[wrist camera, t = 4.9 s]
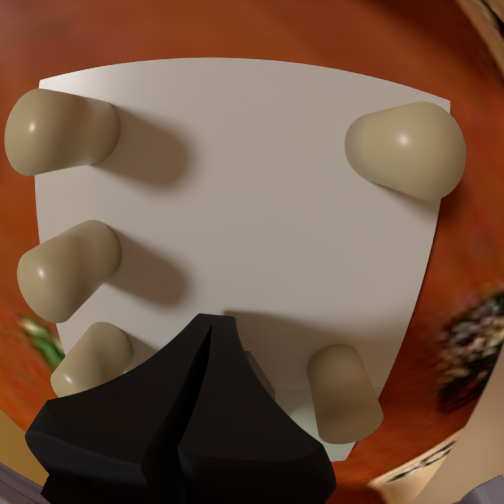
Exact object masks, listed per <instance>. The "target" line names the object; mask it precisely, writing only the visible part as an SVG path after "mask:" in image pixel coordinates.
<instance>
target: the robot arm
mask: <svg viewBox="0 0 504 504" xmlns="http://www.w3.org/2000/svg"><path fill="white" fill-rule="evenodd" d="M25 439H26V443H27V445H28V447H29V449H30V450H31V452H32V453H33V455H34V456H35V457H36V459H37V460H38V461H39V462H40V463H41V465H42V466H43V467H44V469H45V470H46V471H47V472H48V473H49V477H48V478H47V481H46V483H45V485H44V487H43V486H41V485H39V484H37V483H35V482H33V481H32V480H30V479H28V478H26V477H24V476H23V475H21V474H19V473H17V472H16V471H14V470H12V469H11V468H9V467H7V466H6V465H4V464H3V463H1V462H0V504H325V502H326V501H327V500H328V498H329V497H330V496H331V494H332V493H333V492H334V490H335V487H336V485H337V484H336V478H335V473H334V470H333V467H332V464H331V461H330V459H329V456H328V454H327V452H326V450H325V448H324V446H323V444H322V443H320V442H319V441H318V440H316V439H315V438H314V437H312V436H311V435H310V434H309V433H307V432H306V431H305V430H303V429H302V428H301V427H300V426H299V425H298V424H297V423H296V422H295V421H294V420H292V419H291V418H290V417H289V416H288V415H287V414H286V413H285V411H284V410H283V409H282V408H281V407H280V406H279V405H278V404H277V403H276V401H275V400H274V399H273V398H272V397H271V395H270V394H269V393H268V391H267V390H266V389H265V387H264V386H263V384H262V383H261V381H260V380H259V378H258V377H257V375H256V374H255V372H254V370H253V368H252V366H251V364H250V362H249V361H248V358H247V356H246V354H245V352H244V349H243V347H242V344H241V342H240V339H239V335H238V332H237V327H236V319H235V318H234V317H233V316H224V315H213V314H203V313H199V314H197V315H196V316H195V317H194V318H193V319H192V320H191V321H190V322H189V324H188V325H187V326H186V327H185V328H184V329H183V330H182V331H181V332H180V333H178V334H177V335H176V336H175V337H174V338H173V339H172V340H171V341H170V342H169V343H168V344H166V345H165V346H164V347H163V348H162V349H160V350H159V351H158V352H157V353H155V354H154V355H153V356H152V357H150V358H149V359H147V360H146V361H145V362H143V363H142V364H140V365H138V366H137V367H135V368H134V369H132V370H130V371H128V372H126V373H124V374H122V375H120V376H118V377H116V378H114V379H112V380H110V381H108V382H106V383H104V384H101V385H99V386H96V387H94V388H91V389H88V390H85V391H82V392H79V393H76V394H72V395H68V396H64V397H60V398H56V399H51V400H48V401H47V402H46V403H45V404H44V406H43V407H42V409H41V410H40V411H39V413H38V415H37V416H36V418H35V419H34V421H33V422H32V424H31V426H30V427H29V429H28V430H27V432H26V434H25ZM453 504H504V478H503V476H502V475H499V476H497V477H495V478H493V479H491V480H489V481H487V482H485V483H483V484H481V485H479V486H477V487H476V488H474V489H472V490H471V491H470V492H469V493H467V494H466V495H465V496H464V497H463V498H462V499H461V500H460V501H458V502H456V503H453Z"/></svg>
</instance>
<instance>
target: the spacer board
mask: <svg viewBox="0 0 504 504" xmlns="http://www.w3.org/2000/svg"><path fill="white" fill-rule="evenodd" d="M5 149H6V154H7V157H8V160H9V162H10V164H11V165H12V167H13V168H14V169H15V170H16V171H17V172H18V173H20V174H22V175H25V176H33V175H35V192H36V208H37V219H38V229H39V238H40V245H38V246H37V247H35V248H33V249H31V250H30V251H28V252H26V253H25V254H24V255H23V256H22V257H21V259H20V261H19V264H18V269H17V277H18V284H19V287H20V290H21V293H22V295H23V297H24V299H25V301H26V302H27V304H28V305H29V306H30V308H31V309H32V310H33V311H34V312H35V313H36V314H37V315H39V316H40V317H41V318H43V319H44V320H47V321H49V322H52V323H56V325H57V329H58V332H59V336H60V339H61V343H62V346H63V349H64V352H65V355H66V357H65V358H64V359H63V361H62V362H61V363H60V365H59V366H58V367H57V369H56V370H55V371H54V373H53V374H52V375H51V385H52V388H53V390H54V391H55V393H56V394H57V396H58V397H59V398H60V397H64V396H68V395H72V394H76V393H79V392H82V391H85V390H88V389H91V388H94V387H96V386H99V385H101V384H104V383H106V382H108V381H110V380H112V379H114V378H116V377H118V376H120V375H122V374H124V373H126V372H128V371H130V370H132V369H134V368H135V367H137V366H138V365H140V364H142V363H143V362H145V361H146V360H147V359H149V358H150V357H152V356H153V355H154V354H155V353H157V352H158V351H159V350H160V349H162V348H163V347H164V346H165V345H166V344H168V343H169V342H170V341H171V340H172V339H173V338H174V337H175V336H176V335H177V334H178V333H180V332H181V331H182V330H183V329H184V328H185V327H186V326H187V325H188V324H189V322H190V321H191V320H192V319H193V318H194V317H195V316H196V315H197V314H199V313H203V314H213V315H224V316H233V317H234V318H235V319H236V327H237V332H238V335H239V339H240V342H241V344H242V347H243V349H244V351H250V352H251V354H252V355H253V357H254V359H255V360H256V362H257V363H258V365H259V367H260V368H261V370H262V371H263V373H264V374H265V376H266V377H267V379H268V381H269V382H270V384H271V385H272V387H273V388H274V390H275V401H276V403H277V404H278V405H279V406H280V407H281V408H282V409H283V410H284V411H285V413H286V414H287V415H288V416H289V417H290V418H291V419H292V420H294V421H295V422H296V423H297V424H298V425H299V426H300V427H301V428H302V429H303V430H305V431H306V432H307V433H309V434H310V435H311V436H312V437H314V438H315V439H316V440H318V441H319V442H320V443H322V444H323V446H324V448H325V450H326V452H327V454H328V456H329V459H330V461H341V460H346V458H347V456H348V455H349V453H350V451H351V450H352V448H353V446H354V444H355V443H356V441H359V440H361V439H363V438H365V437H367V436H369V435H370V434H372V433H373V432H374V431H375V430H376V429H377V428H378V427H379V426H380V425H381V423H382V421H383V412H382V409H381V407H380V404H379V402H378V398H379V396H380V394H381V392H382V389H383V387H384V385H385V383H386V381H387V378H388V376H389V374H390V371H391V369H392V367H393V364H394V362H395V359H396V357H397V354H398V352H399V349H400V347H401V344H402V341H403V339H404V336H405V333H406V331H407V328H408V325H409V322H410V319H411V316H412V313H413V310H414V307H415V304H416V301H417V298H418V294H419V291H420V288H421V284H422V281H423V277H424V274H425V270H426V266H427V262H428V258H429V254H430V250H431V246H432V242H433V237H434V233H435V228H436V223H437V218H438V213H439V207H440V202H441V198H443V197H445V196H446V195H448V194H449V193H450V192H452V191H453V190H454V188H455V187H456V186H457V185H458V183H459V181H460V180H461V178H462V175H463V172H464V169H465V164H466V147H465V141H464V137H463V134H462V132H461V130H460V127H459V126H458V124H457V122H456V121H455V119H454V118H453V117H452V116H451V115H450V101H448V100H446V99H443V98H440V97H437V96H435V95H432V94H429V93H426V92H423V91H420V90H417V89H414V88H410V87H407V86H404V85H400V84H397V83H393V82H390V81H386V80H382V79H378V78H374V77H370V76H366V75H361V74H357V73H352V72H347V71H342V70H337V69H332V68H326V67H320V66H313V65H307V64H299V63H291V62H282V61H271V60H259V59H241V58H180V59H163V60H150V61H140V62H131V63H123V64H116V65H110V66H103V67H97V68H92V69H87V70H82V71H77V72H72V73H68V74H63V75H59V76H55V77H51V78H47V79H44V80H40V84H39V88H38V89H34V90H31V91H29V92H27V93H26V94H24V95H23V96H22V97H21V98H20V99H19V100H18V101H17V103H16V104H15V106H14V107H13V109H12V111H11V113H10V115H9V118H8V121H7V124H6V129H5Z"/></svg>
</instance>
